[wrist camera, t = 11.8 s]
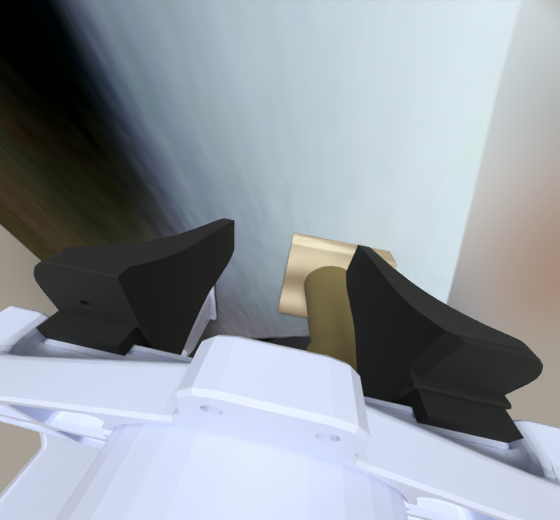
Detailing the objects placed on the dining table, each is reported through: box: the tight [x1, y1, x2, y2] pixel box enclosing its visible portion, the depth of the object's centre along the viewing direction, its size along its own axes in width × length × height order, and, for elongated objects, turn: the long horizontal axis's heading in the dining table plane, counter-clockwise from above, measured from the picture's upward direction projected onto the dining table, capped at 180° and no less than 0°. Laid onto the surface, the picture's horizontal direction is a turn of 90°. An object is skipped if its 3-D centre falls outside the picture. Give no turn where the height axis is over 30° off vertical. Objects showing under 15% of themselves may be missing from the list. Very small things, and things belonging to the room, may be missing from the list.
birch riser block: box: [278, 233, 397, 318], centre depth 25 cm, size 11×11×2 cm
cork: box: [304, 266, 357, 373], centre depth 19 cm, size 6×6×11 cm
